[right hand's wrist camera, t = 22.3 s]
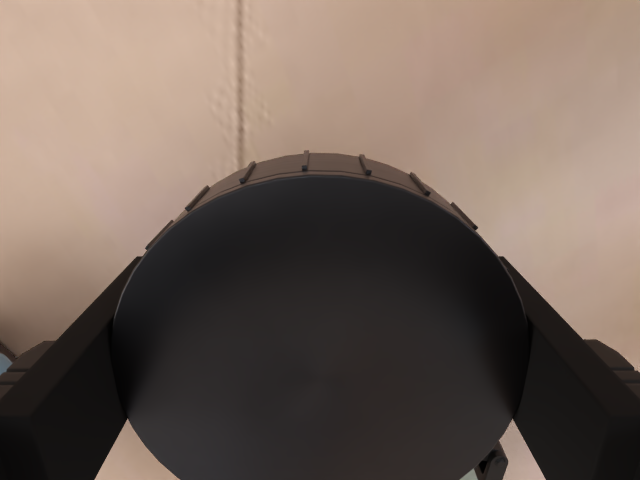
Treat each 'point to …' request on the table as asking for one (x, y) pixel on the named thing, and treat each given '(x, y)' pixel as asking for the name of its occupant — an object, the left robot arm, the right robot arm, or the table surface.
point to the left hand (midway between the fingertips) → (393, 366)
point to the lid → (320, 330)
